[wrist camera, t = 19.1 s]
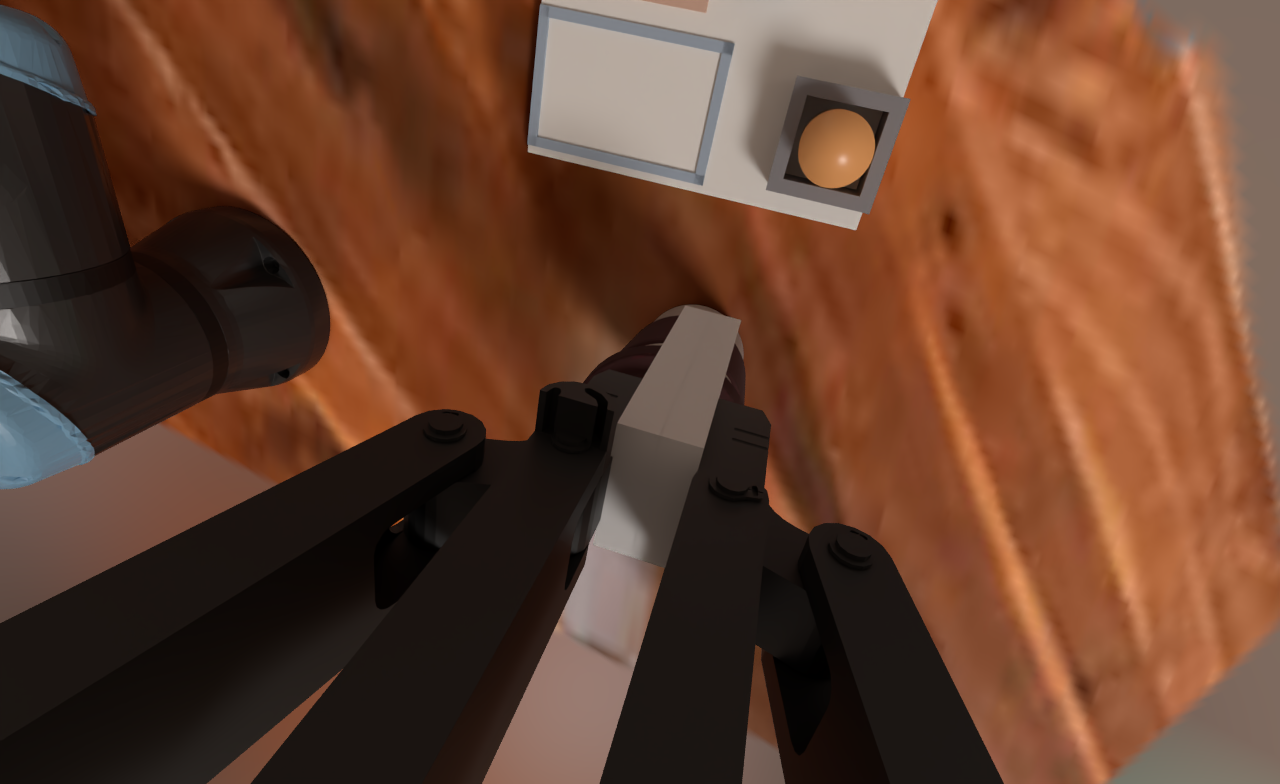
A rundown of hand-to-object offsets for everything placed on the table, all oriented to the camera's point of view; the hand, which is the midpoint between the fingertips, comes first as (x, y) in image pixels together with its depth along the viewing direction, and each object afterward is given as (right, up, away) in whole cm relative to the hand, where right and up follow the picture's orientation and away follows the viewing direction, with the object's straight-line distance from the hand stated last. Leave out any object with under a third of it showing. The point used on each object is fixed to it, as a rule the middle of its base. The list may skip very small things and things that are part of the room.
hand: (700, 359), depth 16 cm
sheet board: (+3, +19, +20) cm, 28 cm away
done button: (+10, +14, +20) cm, 26 cm away
